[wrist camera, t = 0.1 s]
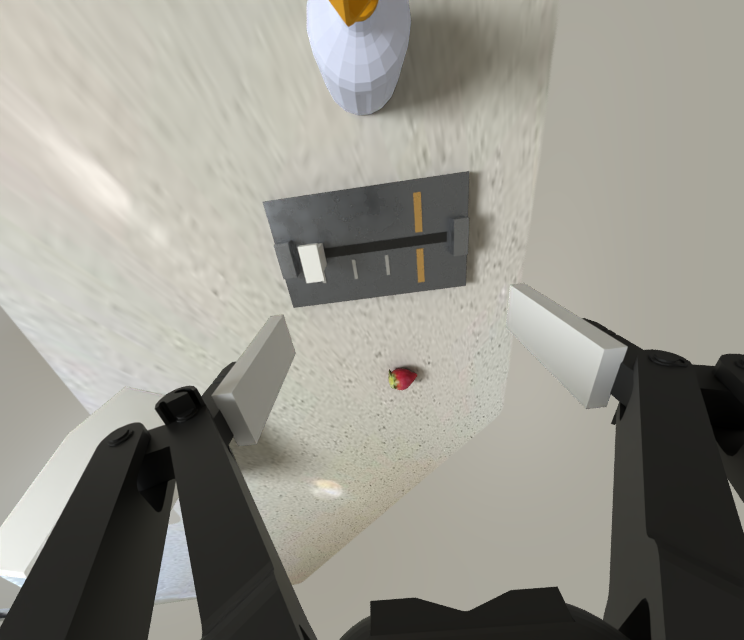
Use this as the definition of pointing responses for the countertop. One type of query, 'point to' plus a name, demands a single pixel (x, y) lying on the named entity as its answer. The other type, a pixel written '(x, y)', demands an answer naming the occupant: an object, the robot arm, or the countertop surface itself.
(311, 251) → the fader
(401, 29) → the soap bottle
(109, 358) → the countertop surface
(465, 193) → the console
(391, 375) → the fruit
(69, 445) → the white toy house
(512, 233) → the countertop surface
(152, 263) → the countertop surface
